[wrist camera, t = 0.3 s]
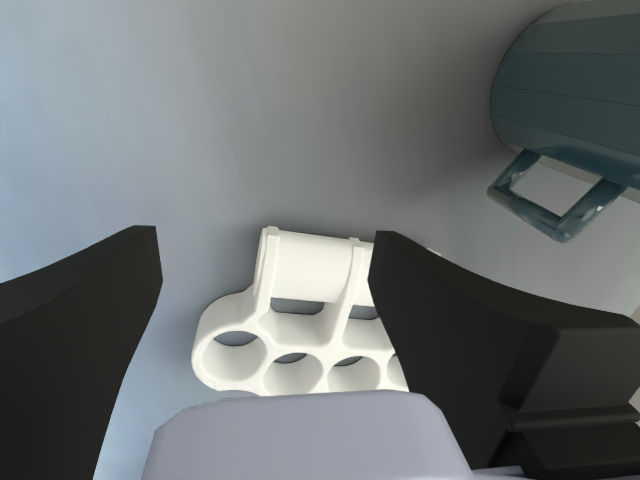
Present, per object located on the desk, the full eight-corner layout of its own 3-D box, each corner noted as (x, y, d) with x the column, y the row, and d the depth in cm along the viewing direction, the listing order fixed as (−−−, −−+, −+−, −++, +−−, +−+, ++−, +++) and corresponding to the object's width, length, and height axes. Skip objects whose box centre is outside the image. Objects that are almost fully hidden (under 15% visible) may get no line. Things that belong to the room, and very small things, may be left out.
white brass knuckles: (468, 247, 25) (402, 387, 31) (209, 209, 21) (194, 379, 27) (495, 273, 22) (417, 421, 28) (200, 235, 18) (185, 418, 24)
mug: (577, -37, 18) (857, -116, 9) (649, 68, 21) (907, 79, 12) (426, 150, 21) (531, 213, 13) (507, 215, 24) (633, 300, 16)
